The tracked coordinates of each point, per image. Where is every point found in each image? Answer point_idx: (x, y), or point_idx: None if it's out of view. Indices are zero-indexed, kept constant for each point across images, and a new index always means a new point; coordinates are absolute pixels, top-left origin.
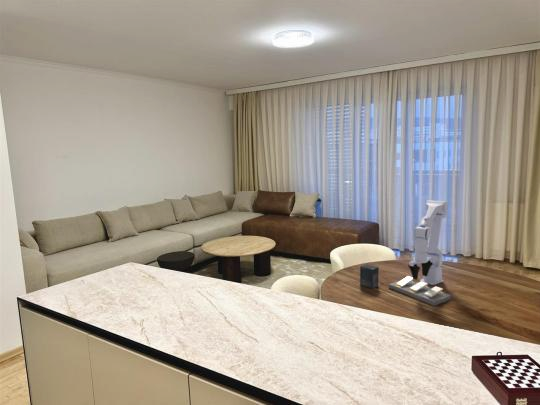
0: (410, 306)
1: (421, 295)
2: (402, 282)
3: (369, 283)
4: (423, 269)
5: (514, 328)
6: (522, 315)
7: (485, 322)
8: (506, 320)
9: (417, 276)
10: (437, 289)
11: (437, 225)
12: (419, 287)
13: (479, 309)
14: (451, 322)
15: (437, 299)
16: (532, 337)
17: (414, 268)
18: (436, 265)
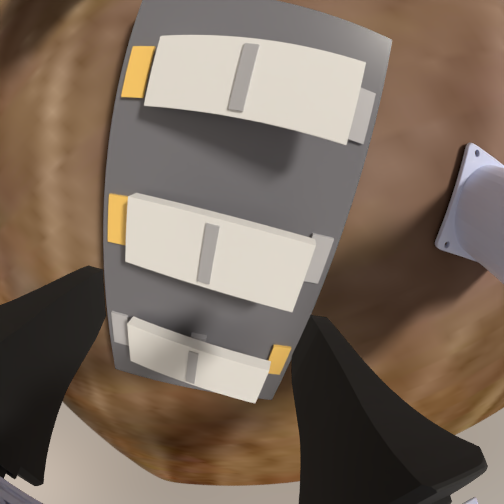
0: (28, 272)
1: (123, 298)
2: (197, 70)
3: None
4: (331, 392)
5: (192, 474)
6: (284, 476)
7: (164, 451)
8: (222, 469)
9: (82, 350)
10: (226, 384)
11: None
12: (180, 271)
13: (244, 443)
14: (77, 402)
15: (153, 374)
16: (181, 482)
17: (1, 400)
18: None
